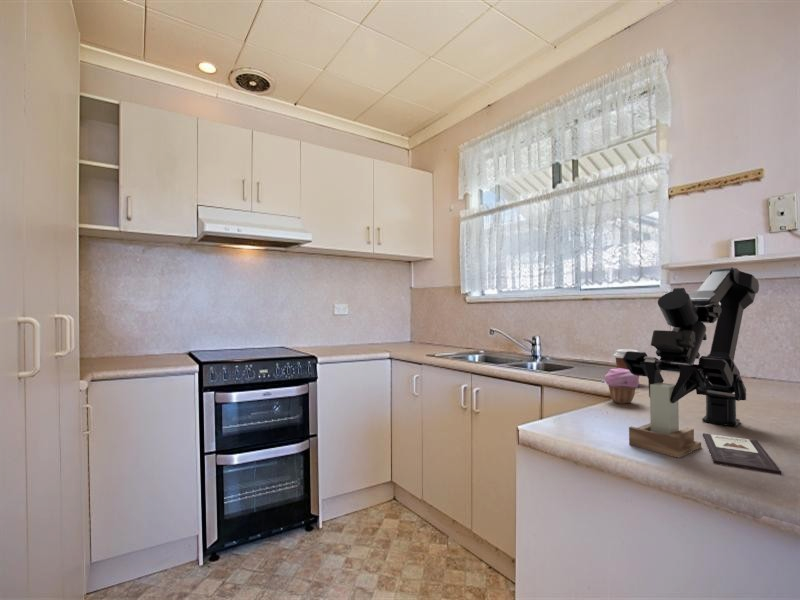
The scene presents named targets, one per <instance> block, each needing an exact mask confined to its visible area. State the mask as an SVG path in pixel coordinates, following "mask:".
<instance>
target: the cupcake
mask: <svg viewBox="0 0 800 600" xmlns="http://www.w3.org/2000/svg"><path fill="white" fill-rule="evenodd" d="M604 382H605V383H606V384H607V385H608V386H607V387H608V390H609V394H610V398H611V400H612V401H614V402H615V403H618V404H620V405H621V404H630V403H632V401H633V399H634V397H635V394H636V390H637V388H638V387H639V383H640V381H639V380H638V376H637V375H634V374H632V373H631V372H630V371H629V370H627V369H623V368H618V369H617V368H610V370H608V372H607V373H606V374H605V375H604Z"/></svg>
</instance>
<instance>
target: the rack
mask: <svg viewBox="0 0 800 600" xmlns="http://www.w3.org/2000/svg"><path fill="white" fill-rule="evenodd" d="M694 429H695V428H691V427H685V428H682V429H679V431H677V432H675V433H672V434H670V435H665V434H661V433H656V432H652V431H651V422H649V423H647V424H645V425H644V424H643V425H641V426H639V427H635V426H628V432H629V433H628V439H629V440H628V445H631V446H634V447H637V448H641V449H645V450H648V451H652V452H655V453H658V452H659V454H662V453H663V454H662V455H665V454H667V455H666V456H669V455H671V456H670V457H673V456H675V457H674V458H676V457H678V458H677V459H680V458H682V457H684V456H683V455H685V454H687V453H689V452H691V451H693V450H695V449H697V448H699V449H701V448H702V442H701V441H696V440H695V430H694ZM700 447H701V448H700ZM697 450H698V449H697ZM695 451H696V450H695ZM693 452H694V451H693ZM691 453H692V452H691ZM689 454H690V453H689ZM687 455H688V454H687ZM681 456H682V457H681ZM685 456H686V455H685ZM679 457H680V458H679Z"/></svg>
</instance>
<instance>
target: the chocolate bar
mask: <svg viewBox="0 0 800 600" xmlns="http://www.w3.org/2000/svg"><path fill="white" fill-rule="evenodd" d="M702 437H703V440H704V439H705V440H704V442H705V445H706V444H707V445H706V447H707V449H709V450H708V452H709V455H710V454H711V455H710V457H711V460H712V459H713V460H712V463H713V464H714V463H716V465H720V464H722V465H721V466H726V465H728V467H733V466H734V467H733V468H739V469H746V470H752V471H758V472H763V473H769V474H775V473H776V474H777V475H782V470H781V469H780V468H779V467H778V465H777V464H776V463H775V462H774V460H773V459H772V458H771V456H770V455H769V454H768V452H767V451H766V450H765V449H764V447H763V446H762V444H761V443H760V442H759V441H758V440H756V439H747V438H741V437H736V436H735V437H733V436H727V435H726V436H725V435H720V434H711V433H705V432H704V433H703V432H702Z"/></svg>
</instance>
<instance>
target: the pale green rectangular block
mask: <svg viewBox="0 0 800 600" xmlns="http://www.w3.org/2000/svg"><path fill="white" fill-rule="evenodd" d="M675 385H676V384H673V383H667V382H663V383H660V382H659V383H654V384H650V397H649V400H650V401H649V404H650V405H649V406H650V408H649V409H650V415H649V416H650V418H649V419H650V423H651V431H652V432H656V433H661V434H665V435H670V434H672V433H675V432H677V431H680V424H679V423H680V421H679V418H680V416H679V415H680V414H679V413H680V411H679V408H680V407H679V400H678V401H676V402H675V403H671V401H670V398H671V394H672V391H673V389H674V387H675Z"/></svg>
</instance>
